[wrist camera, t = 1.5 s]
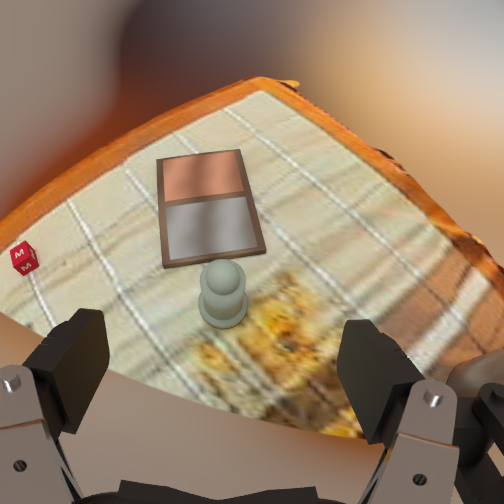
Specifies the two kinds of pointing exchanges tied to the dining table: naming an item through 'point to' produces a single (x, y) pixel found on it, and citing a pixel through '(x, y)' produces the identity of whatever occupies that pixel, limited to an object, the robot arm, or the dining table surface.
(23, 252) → the dice
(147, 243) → the dining table surface
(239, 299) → the pawn
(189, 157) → the brown flat rectangular board
